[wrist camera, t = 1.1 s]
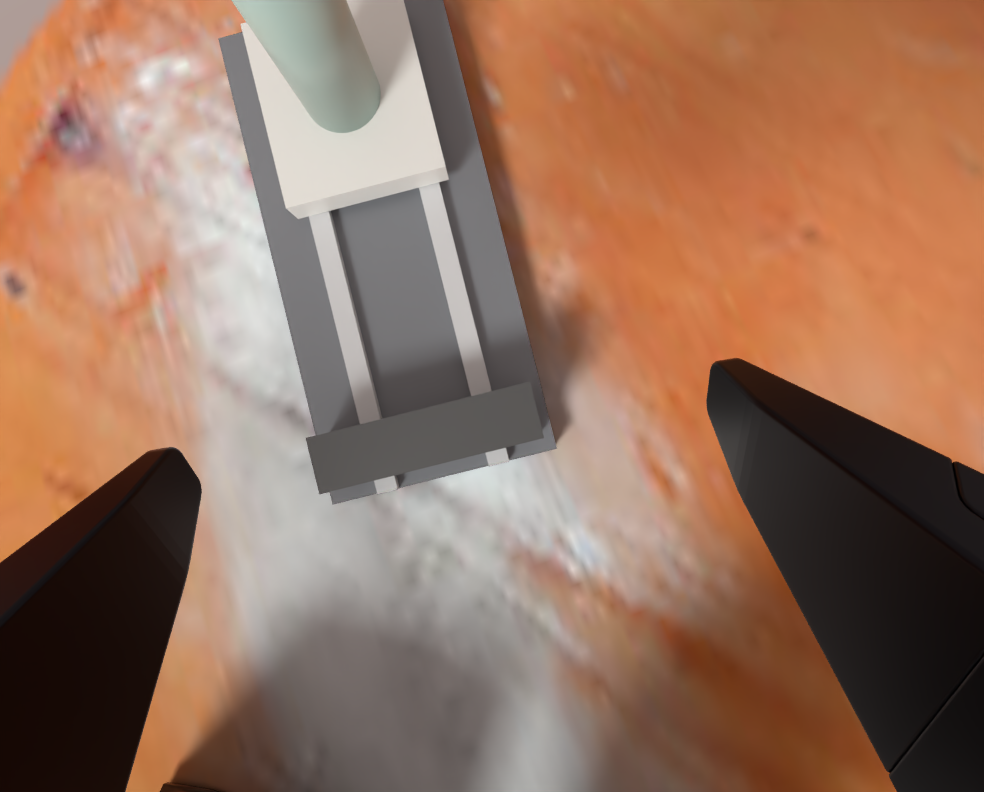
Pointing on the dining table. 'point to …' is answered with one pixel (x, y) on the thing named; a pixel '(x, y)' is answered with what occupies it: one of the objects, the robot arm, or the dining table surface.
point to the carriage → (341, 100)
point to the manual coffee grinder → (183, 788)
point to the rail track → (402, 303)
